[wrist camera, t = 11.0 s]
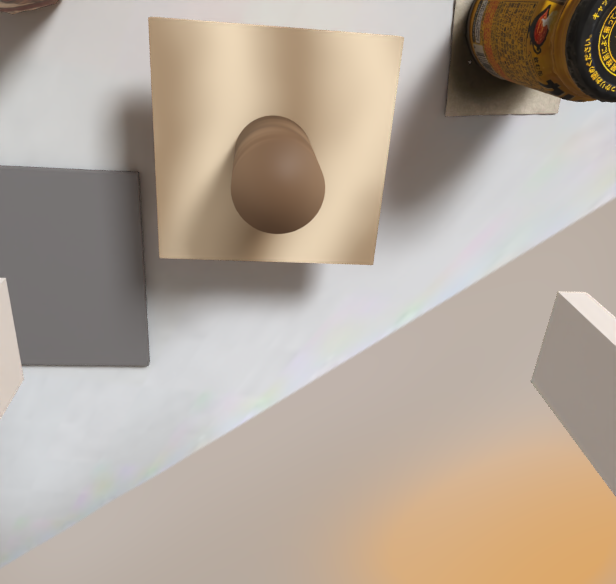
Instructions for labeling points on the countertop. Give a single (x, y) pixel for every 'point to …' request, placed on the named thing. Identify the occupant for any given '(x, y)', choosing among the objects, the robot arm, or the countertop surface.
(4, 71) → the countertop surface
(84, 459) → the countertop surface
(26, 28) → the countertop surface
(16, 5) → the figurine
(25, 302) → the mat
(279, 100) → the lid
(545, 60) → the condiment
